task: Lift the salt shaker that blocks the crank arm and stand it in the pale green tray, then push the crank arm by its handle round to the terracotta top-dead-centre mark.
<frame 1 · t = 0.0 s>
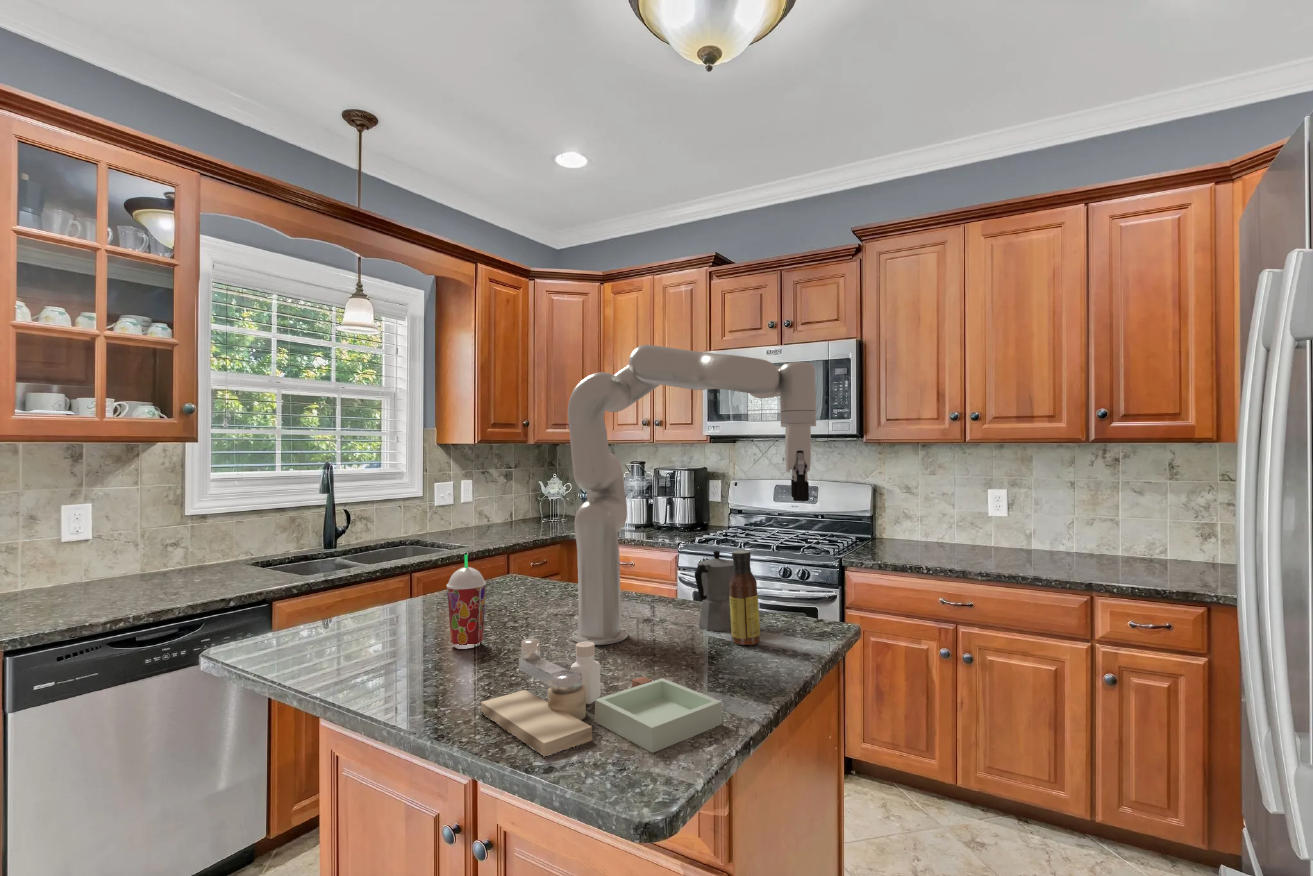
hand: (799, 499, 140), 31 cm above the countertop, tool pointing down, fingers open, 9 cm apart
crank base: (567, 716, 104), on the countertop
sauce bottle: (745, 643, 142), on the countertop
tray: (658, 723, 101), on the countertop
smoothie: (467, 647, 143), on the countertop
coffeepot: (715, 628, 154), on the countertop
crank arm: (549, 664, 108), point 7 cm above the countertop, hinge at 90.0°
salt shaker: (586, 701, 111), on the countertop
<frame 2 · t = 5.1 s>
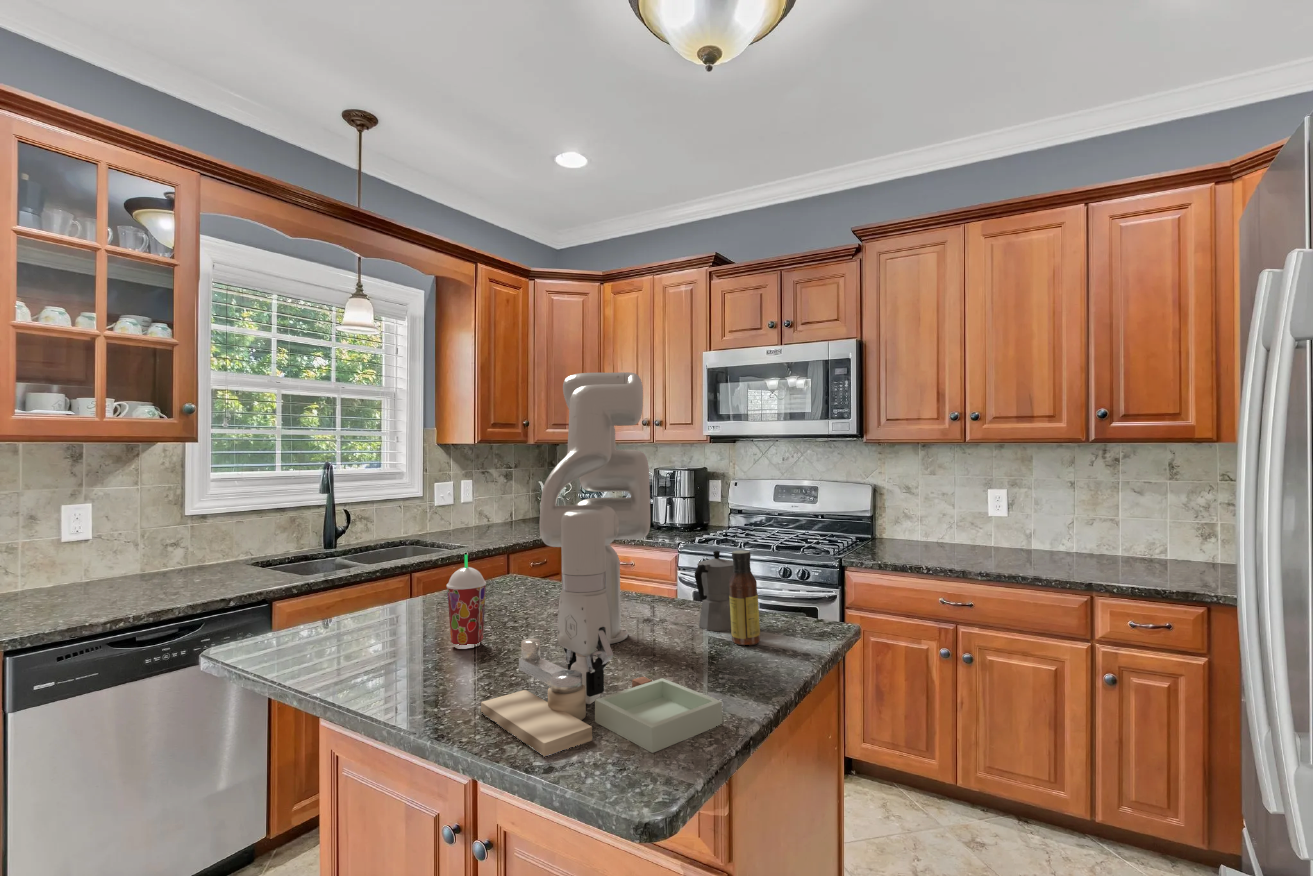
hand: (585, 688, 111), 2 cm above the countertop, tool pointing down, fingers closed on salt shaker, 4 cm apart
salt shaker: (585, 701, 111), on the countertop, touching gripper
everything else where it was.
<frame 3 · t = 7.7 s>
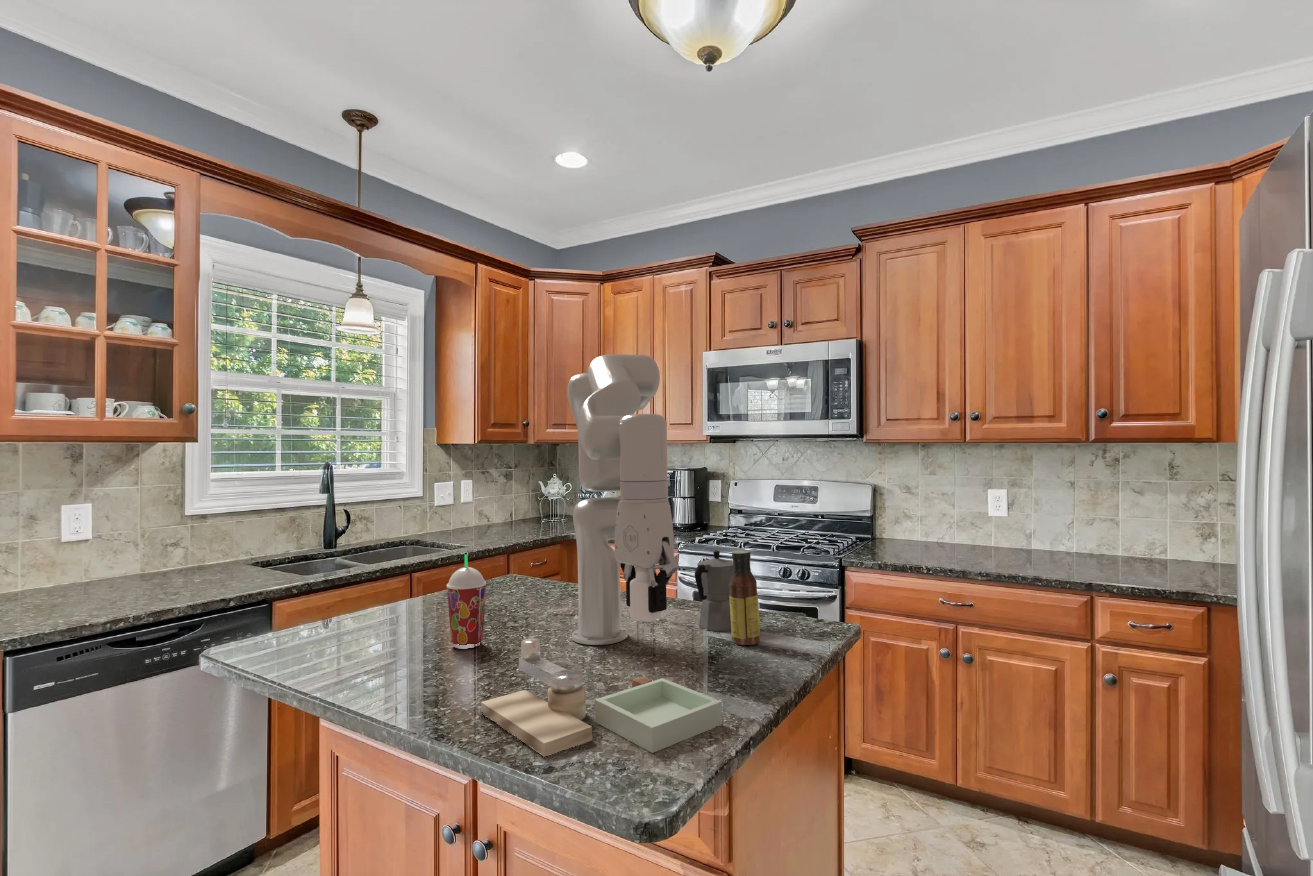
hand: (646, 606, 102), 18 cm above the countertop, tool pointing down, fingers closed on salt shaker, 4 cm apart
salt shaker: (646, 620, 102), point 16 cm above the countertop, touching gripper
everything else where it was.
when the fingers open (4 cm above the countertop, at t = 10.8 s): salt shaker drops 1 cm, resting on tray.
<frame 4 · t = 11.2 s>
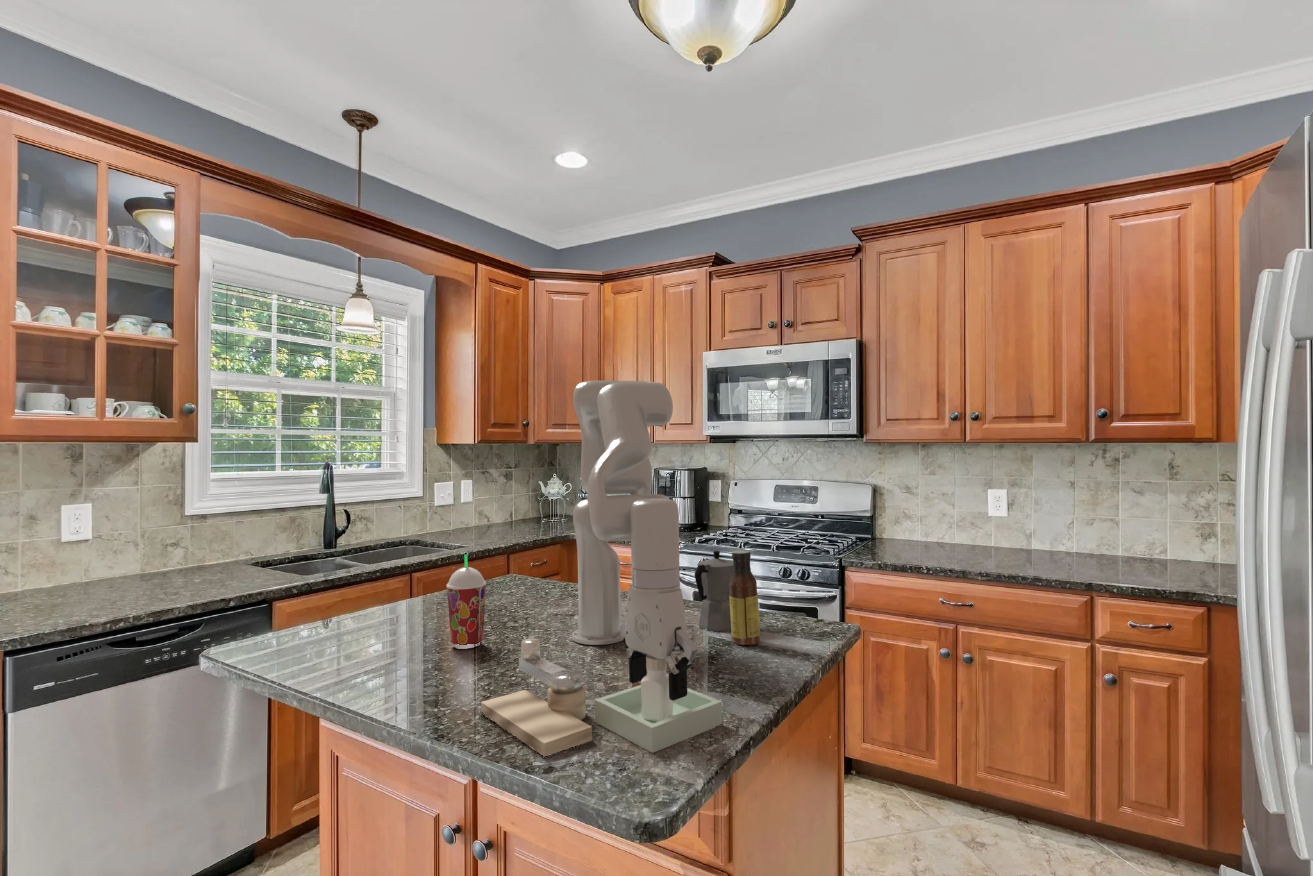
hand: (657, 689, 101), 5 cm above the countertop, tool pointing down, fingers open, 9 cm apart
salt shaker: (657, 718, 101), point 1 cm above the countertop, touching tray
everything else where it was.
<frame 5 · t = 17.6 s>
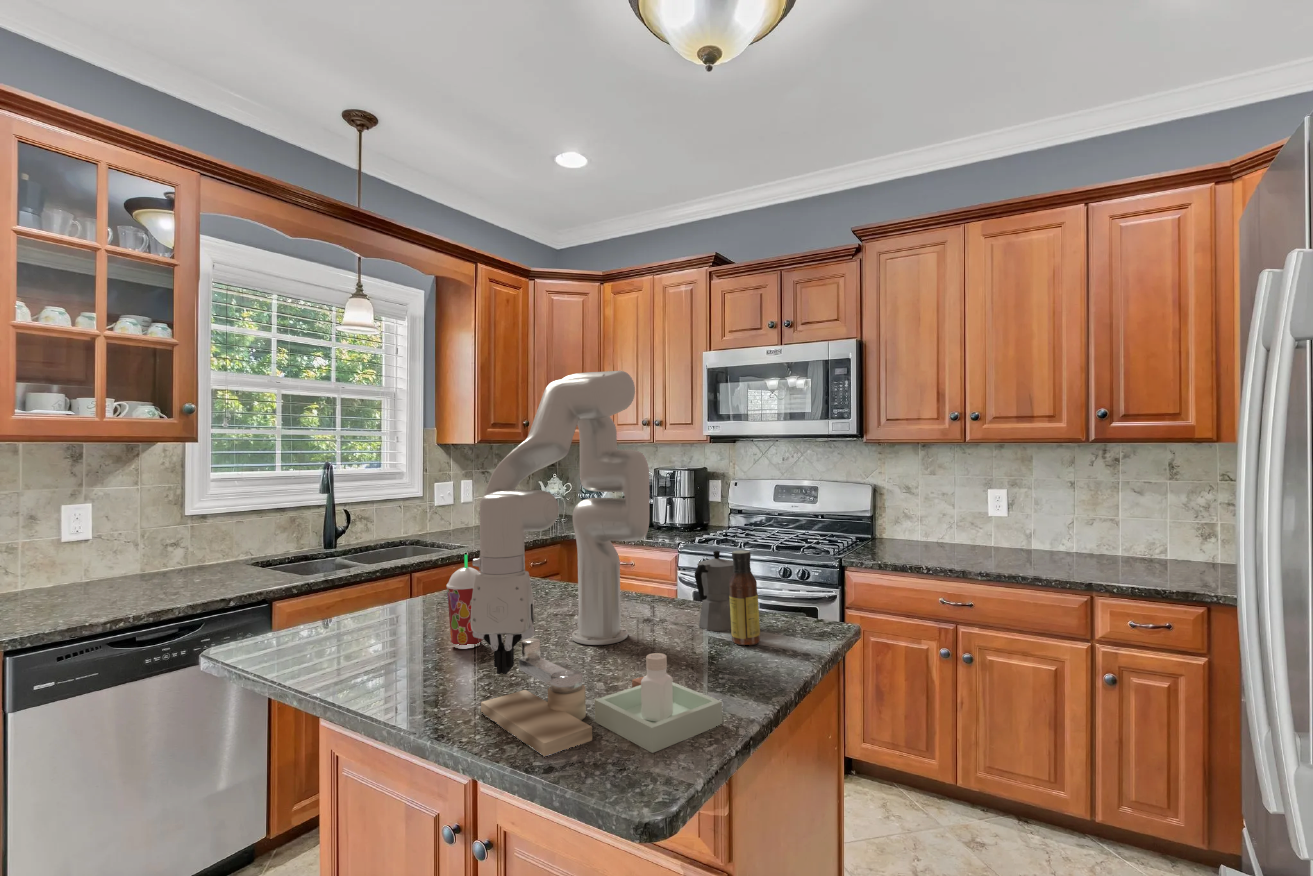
hand: (504, 671, 112), 5 cm above the countertop, tool pointing down, fingers closed
crank arm: (549, 664, 108), point 7 cm above the countertop, hinge at 89.9°, touching gripper
everything else where it was.
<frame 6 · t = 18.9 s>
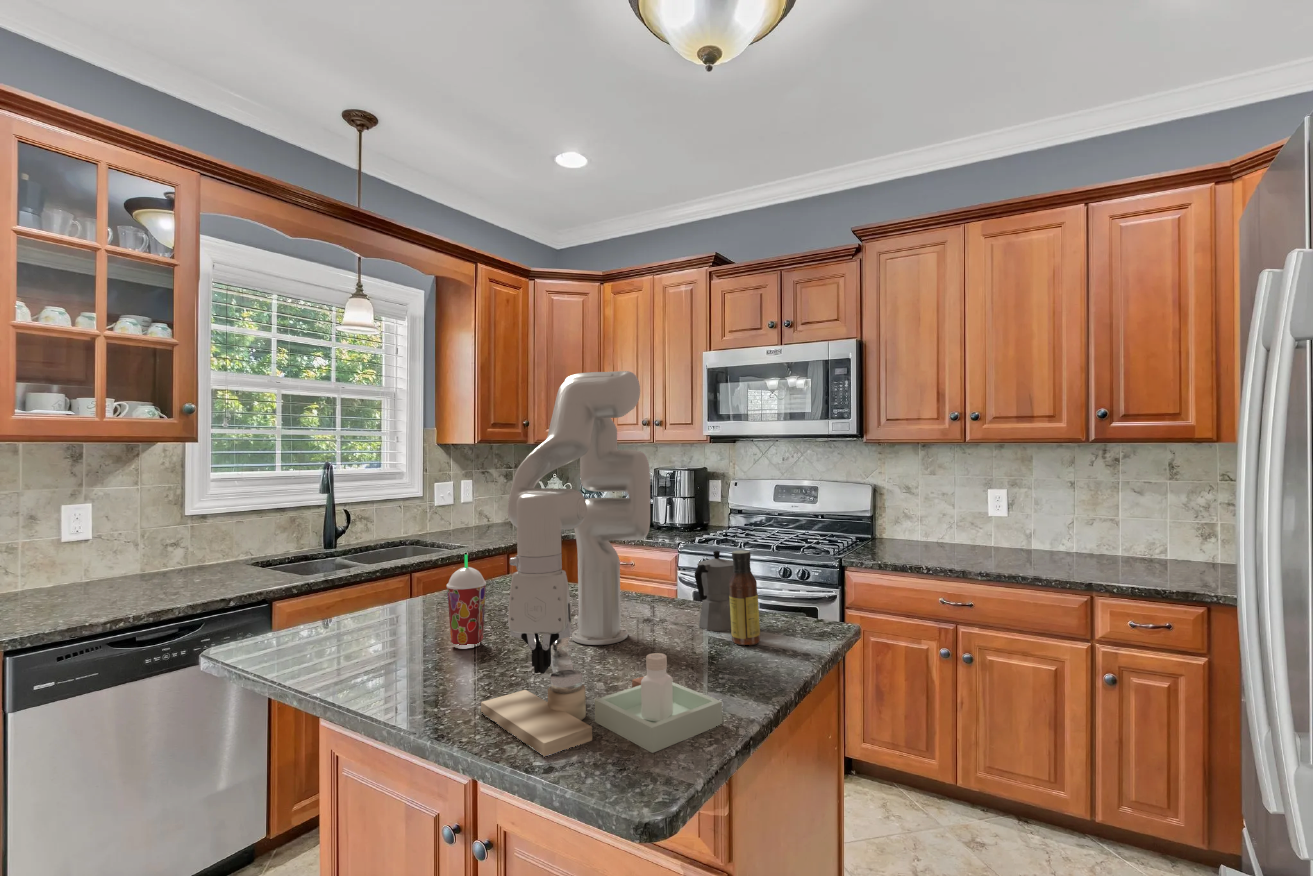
hand: (541, 670, 112), 5 cm above the countertop, tool pointing down, fingers closed
crank arm: (563, 661, 109), point 7 cm above the countertop, hinge at 63.7°, touching gripper
everything else where it was.
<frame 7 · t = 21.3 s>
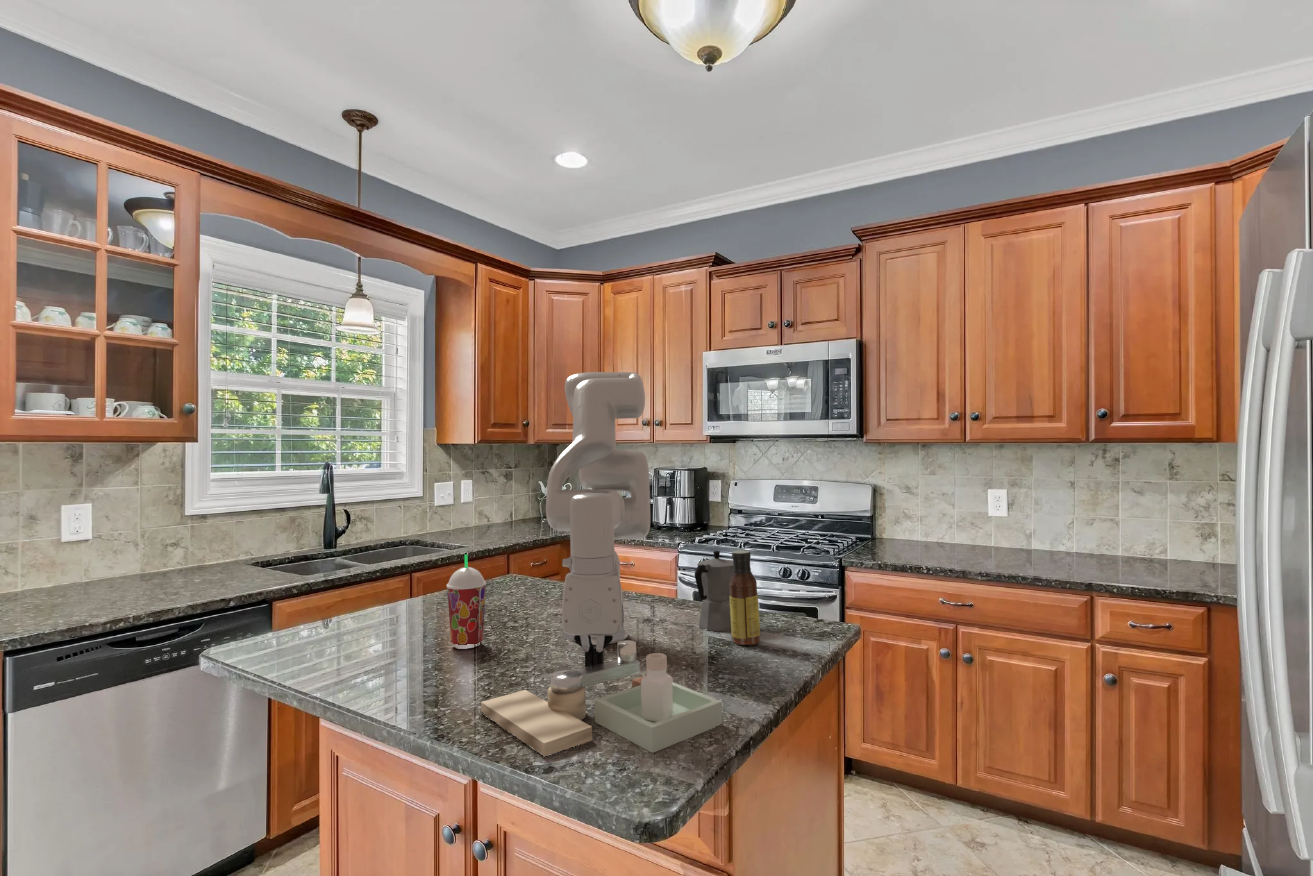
hand: (594, 672, 111), 4 cm above the countertop, tool pointing down, fingers closed
crank arm: (595, 665, 107), point 7 cm above the countertop, hinge at -5.4°, touching gripper
everything else where it was.
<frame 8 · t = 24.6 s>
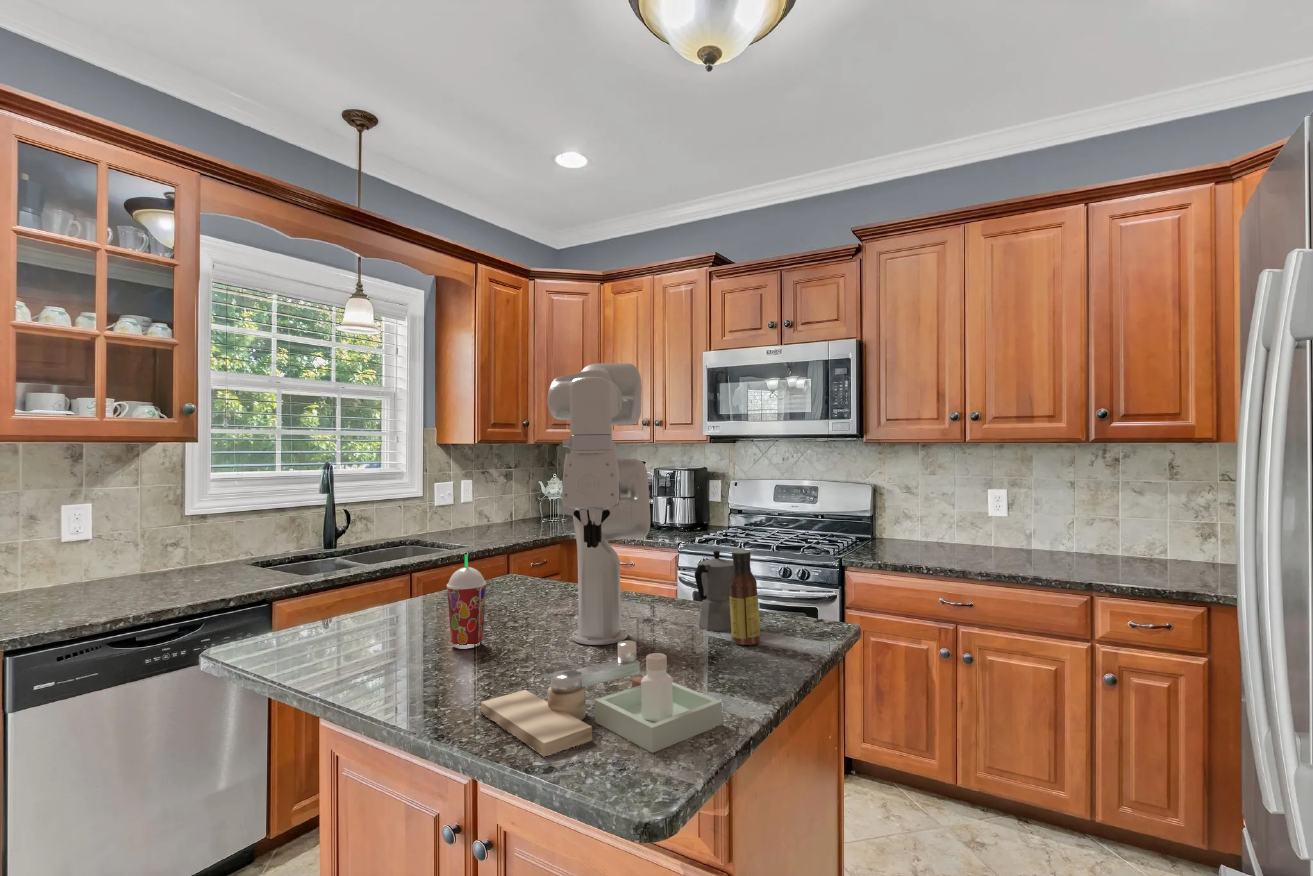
hand: (592, 546, 118), 25 cm above the countertop, tool pointing down, fingers closed
crank arm: (595, 665, 107), point 7 cm above the countertop, hinge at -5.6°
everything else where it was.
at the end: crank arm at -6° (first picture: +90°); salt shaker inside the target area on the tray (0.2 cm from its centre), point 0.6 cm above the tray's base; salt shaker tilted 0° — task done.
